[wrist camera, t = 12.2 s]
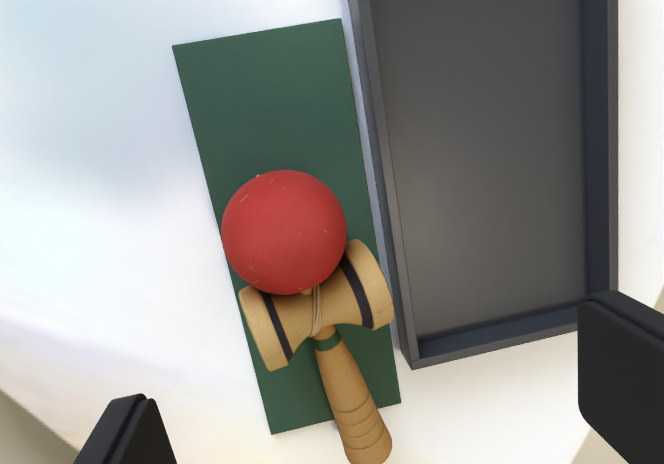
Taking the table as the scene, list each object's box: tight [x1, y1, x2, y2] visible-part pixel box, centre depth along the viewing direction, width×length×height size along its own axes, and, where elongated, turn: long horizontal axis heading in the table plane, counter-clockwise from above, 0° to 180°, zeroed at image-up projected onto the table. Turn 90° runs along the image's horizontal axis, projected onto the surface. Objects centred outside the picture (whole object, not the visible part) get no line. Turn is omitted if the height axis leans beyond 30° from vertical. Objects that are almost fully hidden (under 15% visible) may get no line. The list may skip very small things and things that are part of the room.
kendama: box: [221, 170, 394, 464], centre depth 23 cm, size 8×6×18 cm
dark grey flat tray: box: [348, 0, 618, 370], centre depth 23 cm, size 23×13×2 cm, turn 10°
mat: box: [172, 18, 401, 435], centre depth 24 cm, size 23×8×1 cm, turn 10°
